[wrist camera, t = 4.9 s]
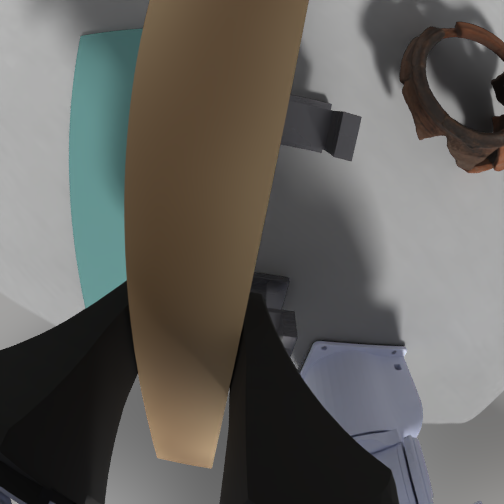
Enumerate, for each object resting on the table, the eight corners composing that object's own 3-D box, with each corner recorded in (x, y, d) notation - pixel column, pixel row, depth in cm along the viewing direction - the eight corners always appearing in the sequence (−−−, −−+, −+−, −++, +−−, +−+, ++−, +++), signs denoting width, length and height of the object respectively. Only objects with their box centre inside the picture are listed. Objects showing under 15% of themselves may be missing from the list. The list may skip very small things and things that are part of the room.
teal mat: (211, 30, 13) (210, 28, 13) (181, 327, 24) (180, 330, 23) (83, 36, 13) (80, 35, 13) (87, 305, 23) (85, 308, 23)
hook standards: (334, 105, 15) (363, 105, 10) (283, 310, 22) (287, 365, 17) (239, 86, 15) (228, 77, 10) (210, 299, 22) (197, 352, 17)
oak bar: (296, 19, 6) (312, -20, 3) (217, 425, 14) (211, 468, 12) (191, 7, 6) (158, -31, 3) (167, 415, 14) (157, 457, 12)
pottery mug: (435, 197, 18) (454, 197, 11) (376, 85, 18) (358, 34, 11) (548, 144, 12) (599, 125, 5) (488, 39, 12) (508, -15, 5)
